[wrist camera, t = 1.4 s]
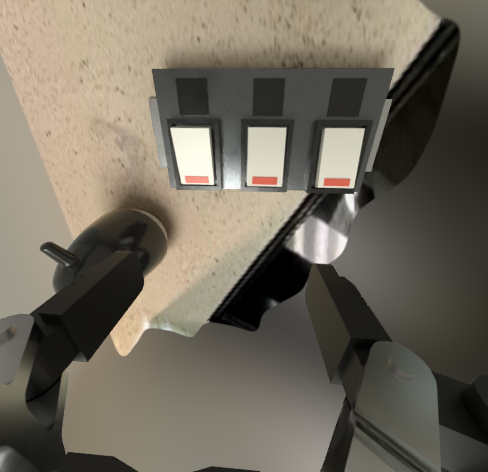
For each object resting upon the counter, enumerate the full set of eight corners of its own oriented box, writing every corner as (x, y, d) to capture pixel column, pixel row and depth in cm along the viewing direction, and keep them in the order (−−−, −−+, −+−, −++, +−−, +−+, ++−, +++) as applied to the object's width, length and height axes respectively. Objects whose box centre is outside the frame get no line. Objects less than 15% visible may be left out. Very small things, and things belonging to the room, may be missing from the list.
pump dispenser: (162, 194, 29) (82, 242, 16) (184, 252, 34) (136, 328, 20) (103, 204, 30) (-19, 258, 17) (131, 259, 35) (53, 335, 21)
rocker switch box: (146, 78, 23) (122, 65, 19) (396, 78, 22) (429, 64, 17) (164, 181, 28) (148, 188, 24) (364, 186, 27) (384, 194, 23)
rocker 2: (322, 130, 21) (325, 127, 20) (359, 130, 21) (365, 128, 20) (314, 187, 23) (317, 187, 22) (349, 187, 22) (354, 188, 21)
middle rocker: (248, 129, 21) (248, 126, 20) (284, 129, 21) (286, 127, 20) (247, 185, 23) (246, 186, 22) (280, 186, 23) (282, 186, 22)
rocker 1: (173, 126, 21) (169, 128, 20) (210, 126, 20) (208, 128, 19) (184, 180, 24) (181, 184, 23) (215, 181, 24) (214, 185, 23)
